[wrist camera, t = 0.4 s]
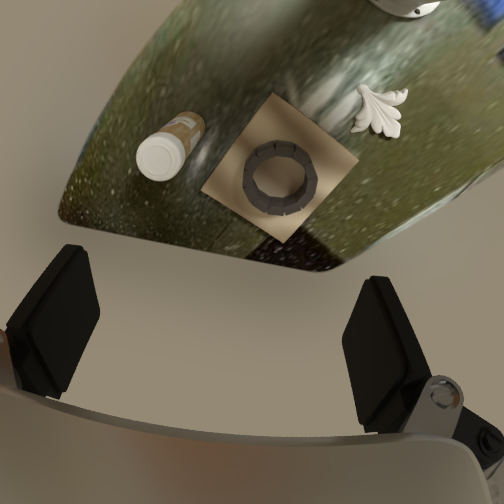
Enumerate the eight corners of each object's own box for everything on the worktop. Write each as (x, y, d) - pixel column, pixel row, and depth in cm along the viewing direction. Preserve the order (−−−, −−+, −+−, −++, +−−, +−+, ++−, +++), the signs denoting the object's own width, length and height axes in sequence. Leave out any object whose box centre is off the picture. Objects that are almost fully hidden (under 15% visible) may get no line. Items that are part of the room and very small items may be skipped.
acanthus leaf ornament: (404, 88, 35) (410, 89, 34) (400, 136, 39) (405, 139, 37) (351, 81, 35) (355, 82, 34) (349, 131, 39) (352, 135, 38)
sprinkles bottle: (192, 104, 38) (160, 127, 26) (212, 131, 40) (190, 165, 29) (164, 124, 39) (125, 155, 28) (185, 150, 41) (154, 191, 30)
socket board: (272, 91, 36) (273, 95, 33) (356, 157, 41) (365, 168, 37) (202, 185, 44) (196, 199, 40) (283, 237, 48) (284, 255, 45)
